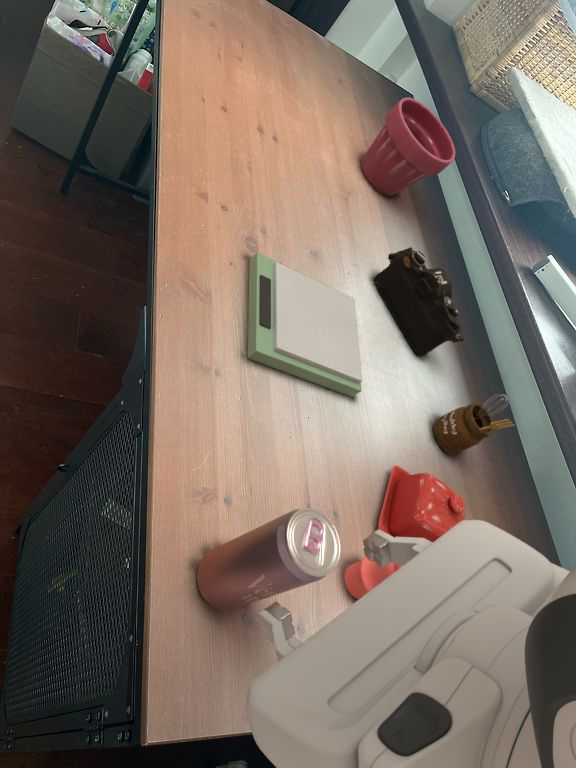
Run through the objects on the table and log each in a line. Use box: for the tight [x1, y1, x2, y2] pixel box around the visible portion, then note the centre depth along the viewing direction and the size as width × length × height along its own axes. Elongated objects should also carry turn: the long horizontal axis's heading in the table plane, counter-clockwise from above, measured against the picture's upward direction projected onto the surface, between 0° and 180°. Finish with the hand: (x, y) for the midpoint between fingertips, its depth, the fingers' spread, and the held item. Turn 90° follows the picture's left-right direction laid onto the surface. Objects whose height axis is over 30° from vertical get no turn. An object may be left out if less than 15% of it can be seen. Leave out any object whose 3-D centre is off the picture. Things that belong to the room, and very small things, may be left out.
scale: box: [246, 252, 363, 398], centre depth 83 cm, size 17×16×3 cm
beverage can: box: [196, 507, 342, 611], centre depth 55 cm, size 6×6×15 cm
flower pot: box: [360, 97, 456, 197], centre depth 113 cm, size 14×14×13 cm
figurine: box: [343, 555, 403, 600], centre depth 66 cm, size 5×5×15 cm
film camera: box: [373, 246, 465, 357], centre depth 99 cm, size 18×12×10 cm
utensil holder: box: [432, 393, 516, 455], centre depth 89 cm, size 6×6×12 cm
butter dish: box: [377, 465, 466, 542], centre depth 78 cm, size 12×12×8 cm
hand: (321, 576), depth 42 cm, fingers open, 8 cm apart
